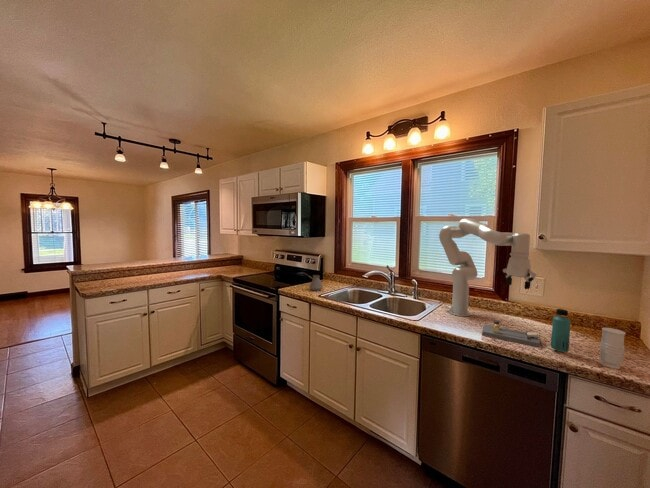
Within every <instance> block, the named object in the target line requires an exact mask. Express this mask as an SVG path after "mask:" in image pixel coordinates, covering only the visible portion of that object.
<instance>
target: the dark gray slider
mask: <svg viewBox="0 0 650 488" xmlns="http://www.w3.org/2000/svg"><path fill="white" fill-rule="evenodd" d="M493 324H498V325H499V326H500V320H495V319H494V320H493Z"/></svg>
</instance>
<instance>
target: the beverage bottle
mask: <svg viewBox="0 0 650 488" xmlns="http://www.w3.org/2000/svg"><path fill="white" fill-rule="evenodd" d="M555 314H556V315H555V316H553V317H552V325H551V327H552V328H551V337H550V338H551V339H550V348H551V349H553V350H555V351H559V352H562V353H566V352H569V350H570V345H571V344H570V336H571V335H570V334H571V322H572V321H571V320H570V318H569V317H568V315H569V312H568V310H566V309H562V308H557V309H556V311H555ZM566 316H567V317H566Z"/></svg>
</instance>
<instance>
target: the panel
mask: <svg viewBox="0 0 650 488" xmlns="http://www.w3.org/2000/svg"><path fill="white" fill-rule="evenodd" d="M482 327H483V328H482V332H481V333H482V336H485V337H489V338H493V339H494V338H495V339H498V340H504V341H508V342H513V343H518V344H521V345H522V344H523V345H526V344H527V345H528V346H533V347H537V348H540V347H541V342H540V339H539V337H529V336H527V332H529V331H520V330H516V329H509V328H505V327H500V326H499V333H495V332H493V327H494V326H493V325H489V324H483V326H482Z"/></svg>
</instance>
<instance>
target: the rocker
mask: <svg viewBox="0 0 650 488" xmlns="http://www.w3.org/2000/svg"><path fill="white" fill-rule="evenodd" d="M527 336H529V337H538V338H539V333H538V332H535V331H534V332H533V331H532V332H530V331H528V332H527Z"/></svg>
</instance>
